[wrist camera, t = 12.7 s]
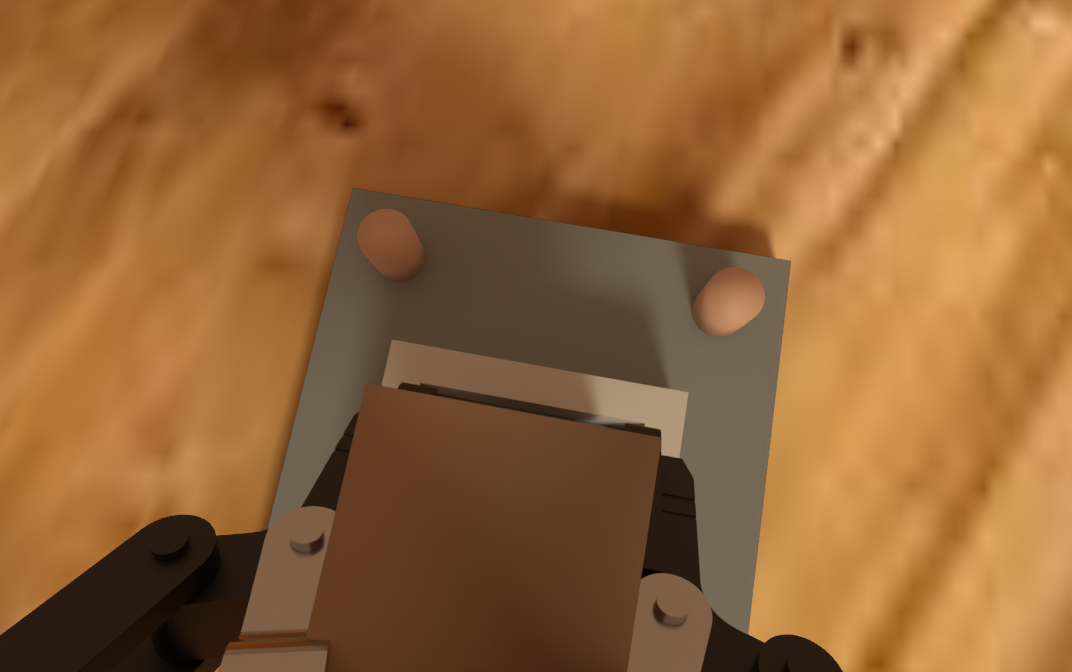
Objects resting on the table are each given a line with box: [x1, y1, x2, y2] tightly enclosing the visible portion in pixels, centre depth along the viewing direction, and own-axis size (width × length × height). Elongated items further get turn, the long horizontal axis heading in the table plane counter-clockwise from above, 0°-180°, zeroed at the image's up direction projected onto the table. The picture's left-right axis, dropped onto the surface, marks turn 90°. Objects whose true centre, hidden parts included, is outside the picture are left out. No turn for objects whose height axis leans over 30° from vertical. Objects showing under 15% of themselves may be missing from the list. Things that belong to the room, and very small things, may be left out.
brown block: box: [305, 383, 662, 672], centre depth 14 cm, size 4×4×10 cm
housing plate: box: [267, 188, 791, 634], centre depth 19 cm, size 14×18×4 cm
